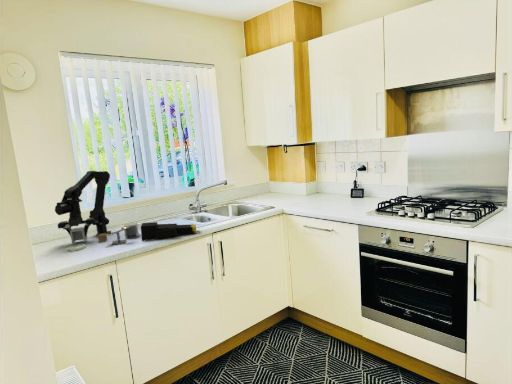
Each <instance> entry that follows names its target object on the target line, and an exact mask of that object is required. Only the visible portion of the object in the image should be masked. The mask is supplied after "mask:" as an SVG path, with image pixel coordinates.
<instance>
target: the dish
mask: <svg viewBox="0 0 512 384" xmlns="http://www.w3.org/2000/svg"><path fill="white" fill-rule="evenodd" d="M86 247H87V245H86V244H85V243H78V244H74V245H70V246H67V248H66V250H67V252H77V251H81V250H83V249H85V248H86Z"/></svg>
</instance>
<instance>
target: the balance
mask: <svg viewBox="0 0 512 384" xmlns="http://www.w3.org/2000/svg"><path fill="white" fill-rule="evenodd" d="M128 228H130V227H129V226H126V227H124V226H122V227H121V228H120V229H119V230H117V231H115V232H112V230H107V234H105V235H106V236H107V237H108V236H113V235H115V234H116V240H114V241H112V243H111V246H115V245H123V244H124V245H125V244H126V242H127V239H121V236H120V232H122V231H124V230H125V229H128Z"/></svg>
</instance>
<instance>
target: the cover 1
mask: <svg viewBox="0 0 512 384" xmlns="http://www.w3.org/2000/svg"><path fill="white" fill-rule="evenodd" d="M70 235H71V236H70ZM70 235H69V236H70V239H71V244H74V243H75V242H77V241H81V240H82V241H83V242H84V243H85V242H86V241H87V240H88V235H87V236H85V227H84V226H80V227H79V226H77V227H73V228H72V227H71V230H70Z"/></svg>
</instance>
